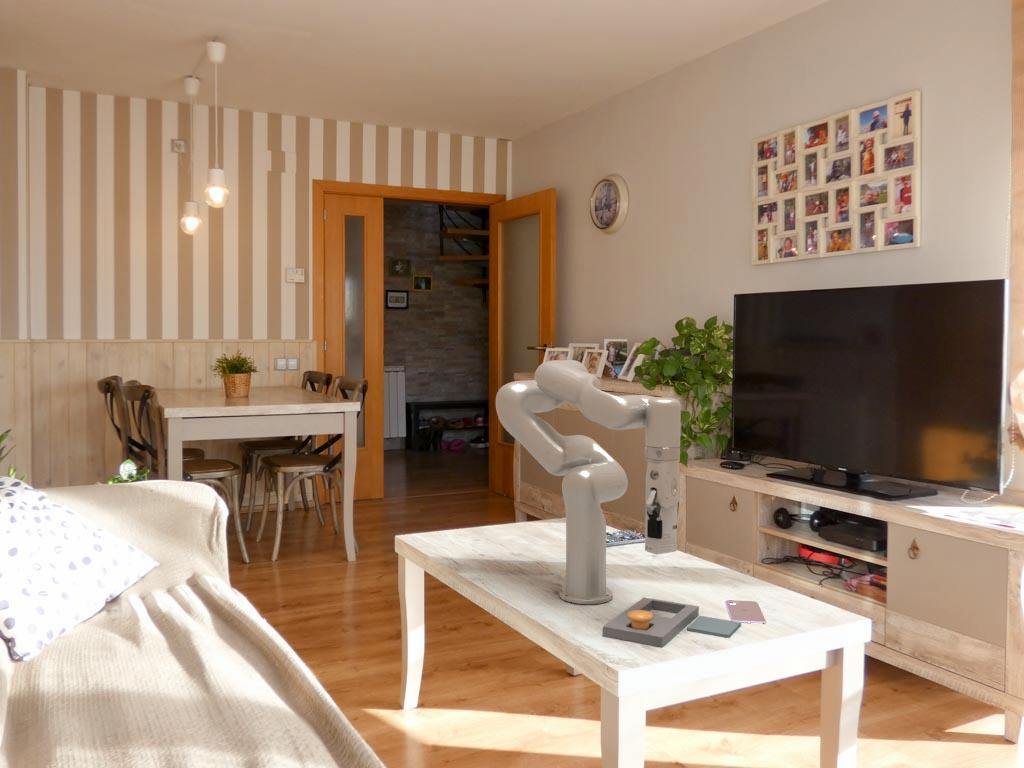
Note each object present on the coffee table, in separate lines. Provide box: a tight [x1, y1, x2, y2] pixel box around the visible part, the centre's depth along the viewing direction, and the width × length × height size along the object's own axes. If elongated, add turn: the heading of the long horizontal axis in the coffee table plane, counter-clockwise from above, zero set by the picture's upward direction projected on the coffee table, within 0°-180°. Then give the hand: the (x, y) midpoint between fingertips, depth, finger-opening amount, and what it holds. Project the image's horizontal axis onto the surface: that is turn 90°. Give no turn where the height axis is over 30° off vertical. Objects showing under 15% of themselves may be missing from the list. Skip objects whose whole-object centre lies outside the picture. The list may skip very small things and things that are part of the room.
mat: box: [686, 615, 742, 639], centre depth 182 cm, size 9×9×1 cm
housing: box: [602, 597, 700, 648], centre depth 183 cm, size 13×23×2 cm, turn 150°
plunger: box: [628, 610, 654, 631], centre depth 177 cm, size 5×5×4 cm
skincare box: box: [644, 498, 679, 555], centre depth 187 cm, size 6×4×12 cm
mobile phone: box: [724, 599, 767, 624], centre depth 192 cm, size 8×1×15 cm
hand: (661, 533), depth 187 cm, fingers closed on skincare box, 7 cm apart
